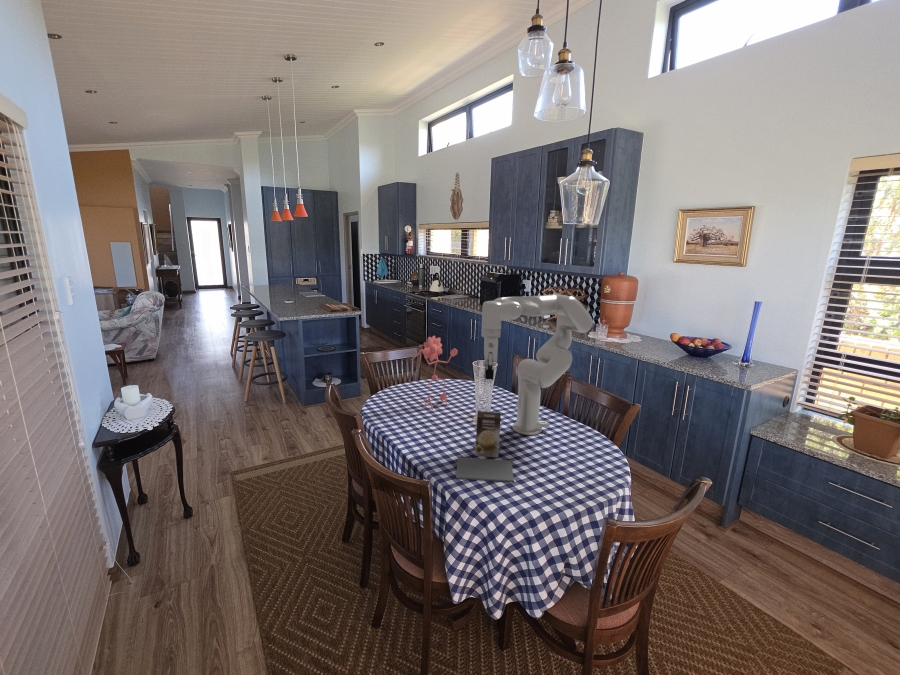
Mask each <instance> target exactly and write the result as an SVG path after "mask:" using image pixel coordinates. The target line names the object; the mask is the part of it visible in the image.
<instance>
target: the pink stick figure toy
mask: <svg viewBox="0 0 900 675" xmlns="http://www.w3.org/2000/svg"><path fill="white" fill-rule="evenodd" d="M441 339H442V338H441V337H436V335H432V336H428V337H427V341H424V342H423V347H424V348H423V349H422V348H421V349H420V350H419V351H418V352H417V353H415V355H413V357H412V358H411V359H410V361H413V360H414V359H415V358H417V357H418V356H419V355H420V354H421V353H422V354H423V357H424V359H425V361H426V362H427V364H428V365H432V364H434V371H433V375H432V376H431V380H430V383H429V384H428V389H430V386H431V383H432V382H433V381H436V380H440V381H443V382H444V384H443V389H445V387H446V386H445V385H446V380H444V379H442V378H439V377H438V375H437V374H436V369H437V365H438V363H445V364H448V363H449V362H450V360H451V358H452V357H453V358H454V357H455V356H457V355H458V353H459V352H458V349H456V348H452V349H451V350H450V352H449V353H450V356H449V358H448V360H447V361H443V360H439V355H442V354H443V348H442V347H443V344H442V343H441ZM428 359H429V360H428ZM434 360H435V361H434ZM429 361H430V362H429ZM430 398H432V396H429V397H427V399H426V401H425V403H424V404H423V408H425V407H426V405H427V404H428V403H429V404H430V406H431V407H430V408H431V410H432V411H434V408H433V404H432V401H431V399H430ZM446 398H447V393H446V392H445V390H443V393H442V394H441V395H440V396H439V400H440V401H441V402H445V406H446V405H447V406H448V402H447V400H446ZM423 400H424V398H423V399H422V401H423ZM413 405H415V403H414V402H413Z"/></svg>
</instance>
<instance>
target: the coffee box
mask: <svg viewBox="0 0 900 675" xmlns="http://www.w3.org/2000/svg"><path fill="white" fill-rule="evenodd" d="M476 413H477V414H476V416H477V417H476V428H475V429H476V432H475V444H474V445H475V447H474V456H477V457H488V458H489V457H490V458H499V449H500V437H501V436H500V434H501V420H502V419H501V418H502V415H501V412H497V411H494V412H493V411H483V410H477V412H476Z"/></svg>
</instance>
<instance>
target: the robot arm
mask: <svg viewBox="0 0 900 675" xmlns="http://www.w3.org/2000/svg"><path fill="white" fill-rule="evenodd" d="M481 312H482V313H481V337H482V338H484V342H483V351H484V352H483V354H484V355H483V356H484V362H485V365H484V366H485V367H484V368H485V369H484V374H485V376H484V378H485V379H486V380H494V377H495V376H494V374H495V370H494V363H496V364H497V363H498V355H499V354H498V351H499V350H498V349H499V338H501V335H502V334H501V333H502V320H506V321H507V320H509V321H513V320H517V319H518V318H520V317H521V316H526V317H543V316H545V317H546V316H551V315H553V316H554V315H557V317H556V329H555V332H554V333H553V335H552V336H551V337H550V338H549V339H548V340H547V341H546V342H545V343H544V344H542V346H541V347H540V348H539V349H538V350H537V352H536V354H535V357H536V359H537V360H535V359H532V358H524V359H522V360H521V361H520V362H519V363H518V365H517V369H516V370H517V371H516V372H517V373H516V375H517V380H518V381H517V382H518V388H517V389H518V390H517V391H518V393H517V394H518V395H517V409H516V422H514V423H513V424H512V430H513V431H514V432H516V433H518V434H520V435H525V436H534V435H539V434H540V433H541V432H542V430H543V429H542V428H550V427H551V426H550V422H546V421H545V420H542V421H541V420H540V409H541V408H540V407H541V406H540V405H541V395H542V394H541V392H542V391H541V388H542V389H547V388H550V387H551V386H552V385H553V384H554V383H556V382H557V381H558V380H559V379H560V378H561V377H562V376H563V375H564V374H565V373H566V372H567V371H568V370H569V368H570V367H571V365H572V362H573V355H572V352H571V351H570V350H569V348H570V347H571V345H572V340H573V339H572V338H573V337H572V332H576V333H580V334H585V333H587V332H589V331H590V330H591V329H592V327H593V318H592V316H591V314H590V312H588V310H587V309H586V308H585V307H584V306H583V305H582V303H581V302H580V301H579V300H578V299H577V298H576V297H574V296H571V295H564V294H559V293H558V294H557V293H553V294H545V295H528V296H506V297H505V296H503V297H497V298H495V299H494V300H486V301H484V302H483V303H482V310H481Z"/></svg>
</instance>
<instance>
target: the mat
mask: <svg viewBox="0 0 900 675" xmlns="http://www.w3.org/2000/svg"><path fill="white" fill-rule="evenodd" d="M513 471H514V470H513V463H512V459H511V460H508V459H493V458H492V459H491V458H471V457H457V464H456V472H455V473H456V474H455V479H456V480H457V479H458V480H469V481H470V480H471V481H472V480H473V481H476V480H477V481H489V482H490V481H491V482H492V481H493V482H494V481H495V482H506V483H507V482H509V483H513V482H515V478H514V472H513Z"/></svg>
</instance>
